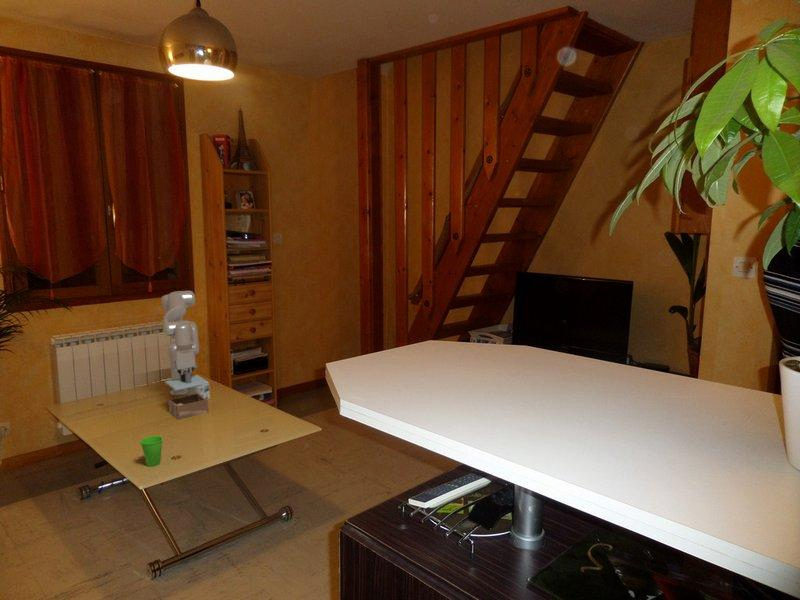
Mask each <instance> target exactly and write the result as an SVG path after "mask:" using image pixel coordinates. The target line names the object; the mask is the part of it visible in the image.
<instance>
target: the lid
mask: <svg viewBox="0 0 800 600" xmlns="http://www.w3.org/2000/svg"><path fill="white" fill-rule="evenodd" d="M183 373H184V375H185V382H183V381H182V380H181V378H179V379H174V380H172V379H171V380H165V381H164V383H165V385H167V386H169V387H170V388H171V389H172V390H173V389H174V390H177V391H179V390H184V389H188V388H193V387H197V386H202V385H203V384H207V383H208V382H209V381H208V380H206V379H205V378H204V377H201V376H200V375H198V374H195V375H192V373H189V372H188V371H186V370H183ZM191 377H192V378H191Z"/></svg>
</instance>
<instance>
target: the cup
mask: <svg viewBox="0 0 800 600" xmlns="http://www.w3.org/2000/svg"><path fill="white" fill-rule="evenodd" d="M163 440H164V437H163V436H162V435H150V436H146V437H143V438H142V439H141V440H139V444H141V448H142V453H143V455H144V459H145V463H146V466H147V467H148V468H149V467H151V468H152V467H156V466H159V465H160V464H161V460H162V458H161V457H162V447H163Z"/></svg>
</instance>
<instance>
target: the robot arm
mask: <svg viewBox="0 0 800 600" xmlns="http://www.w3.org/2000/svg"><path fill="white" fill-rule="evenodd" d="M160 301H161V305H162V309H163V310H164V312H165V314H164V316H163V319H162V327H163V331H164V334H165V336H168V337H170V338H171V339H173V340H174V339H175V340H174V341H171V342H169V343H168V345H167V352H168V356H169V363H170V372H171V373H170V374H171V380H174V379H179V378H181V380H182V381H183V382H185V375H184V373H183V370H186V371H188V372H189V373H191V374H192V373H193V371H194V370H195V369H197V368H198V366H199V365H198V364H197V363H196V355H198V354H199V353H200V342H199V341H200V340H199V330H198V326H197V322H195V321H191V320H184V316H185V315H186V313H187V308H192V307H194V305H195V304H196V295H195V293H194V292H193V291H192V290H177V291H172V292H169V293H168V294H165V295H163V296H162V297H161V299H160ZM191 378H192V377H191ZM169 394H170V395H171V396H184V395H185V396H187V389H184V390H179V391H177V390H174V389H173V388H172V390H170V391H169Z"/></svg>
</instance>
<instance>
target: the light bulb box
mask: <svg viewBox="0 0 800 600" xmlns="http://www.w3.org/2000/svg"><path fill="white" fill-rule="evenodd" d="M194 394H200V395H201V396H203V397H204V398H206V399H207V400H208V401H209V399H210V398H211V395H210V384H209V381H208V383H207V384H203V385H202V386H197V387H193V388H188V389H187V394H186V396H189V395H194Z"/></svg>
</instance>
